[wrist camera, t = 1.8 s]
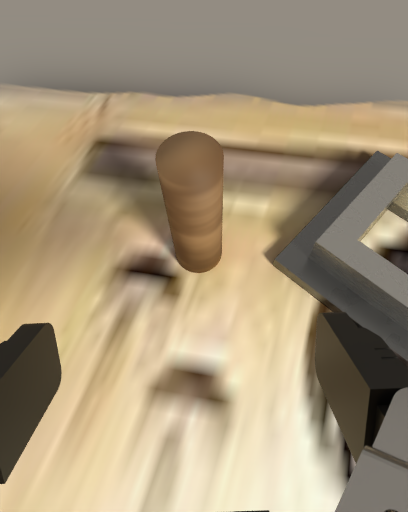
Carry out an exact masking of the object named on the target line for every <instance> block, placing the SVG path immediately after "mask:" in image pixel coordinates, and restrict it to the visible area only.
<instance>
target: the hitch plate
mask: <svg viewBox="0 0 408 512" xmlns="http://www.w3.org/2000/svg"><path fill="white" fill-rule="evenodd" d="M387 209H389V210H390V211H392V212H393V213H395V214H396V215H398V216H400V217H401V218H403V219H404V220H406V221H408V159H407V158H405V157H403V156H402V155H400V154H398V153H396V154H395V156H394V157H393V158H392V159H391V158H389V157H387V156H386V155H384V154H382V153H380V152H379V151H376V152H375V153H374V155H373V156H372V157H371V158H370V159H369V160H368V161H367V162H366V163H365V164H364V165H363V166H362V167H361V168H360V169H359V170H358V171H357V173H356V174H355V175H354V176H353V177H352V178H351V179H350V180H349V181H348V182H347V183H346V184H345V185H344V186H343V187H342V188H341V190H340V191H339V192H338V193H337V194H336V195H335V196H334V197H333V198H332V199H331V200H330V201H329V202H328V203H327V204H326V205H325V206H324V208H323V209H322V210H321V211H320V212H319V213H318V214H317V215H316V216H315V217H314V218H313V219H312V220H311V221H310V222H309V223H308V224H307V226H306V227H305V228H304V229H303V230H302V231H301V232H300V233H299V234H298V235H297V236H296V237H295V238H294V239H293V240H292V241H291V242H290V244H289V245H288V246H287V247H286V248H285V249H284V250H283V251H282V252H281V253H280V254H279V255H278V256H277V257H276V258H275V260H274V263H273V265H274V266H275V267H276V268H277V269H279V270H280V271H281V272H283V273H284V274H285V275H286V276H288V277H289V278H290V279H292V280H293V281H294V282H296V283H297V284H298V285H299V286H301V287H302V288H303V289H305V290H306V291H307V292H308V293H310V294H311V295H312V296H314V297H315V298H316V299H317V300H319V301H320V302H321V303H323V304H324V305H325V306H327V307H328V308H329V309H330V310H332V311H333V312H346V313H347V314H348V315H349V317H350V318H351V319H352V321H353V322H354V323H355V325H356V326H357V327H358V328H367V329H368V330H370V331H372V332H373V333H375V334H377V335H378V336H380V337H381V338H382V339H383V340H384V341H385V343H386V344H387V345H388V346H389V347H390V350H392V351H393V352H394V353H395V354H396V356H397V358H398V359H400V360H401V362H402V363H403V364H404V365H405V366H406V367H407V369H408V274H406V273H405V272H404V271H402V270H401V269H399V268H398V267H396V266H395V265H393V264H392V263H390V262H389V261H387V260H386V259H384V258H383V257H382V256H380V255H379V254H377V253H376V252H374V251H373V250H371V249H370V248H368V247H367V246H365V245H364V244H363V243H361V242H360V241H361V240H362V239H363V237H364V236H365V235H366V234H367V233H368V232H369V230H370V229H371V228H372V227H373V226H374V225H375V223H376V222H377V221H378V220H379V219H380V218H381V216H382V215H383V214H384V213H385V212H386V211H387Z"/></svg>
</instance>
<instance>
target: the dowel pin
mask: <svg viewBox="0 0 408 512" xmlns="http://www.w3.org/2000/svg"><path fill="white" fill-rule="evenodd" d="M155 159H156V166H157V170H158V175H159V179H160V184H161V189H162V193H163V198H164V202H165V207H166V211H167V216H168V221H169V225H170V230H171V234H172V239H173V243H174V248H175V253H176V257H177V260H178V262H179V264H180V265H181V266H182V267H183V268H184V269H186V270H188V271H190V272H195V273H202V272H206V271H209V270H211V269H212V268H214V267H215V266H216V265H217V264H218V262H219V261H220V258H221V254H222V210H223V160H224V155H223V150H222V148H221V146H220V144H219V143H218V142H217V141H216V140H215V139H214V138H213V137H211V136H209V135H207V134H205V133H201V132H195V131H187V132H181V133H177V134H175V135H172V136H171V137H169V138H167V139H166V140H165V141H164V142H163V143H162V144H161V145H160V146H159V148H158V150H157V153H156V158H155Z"/></svg>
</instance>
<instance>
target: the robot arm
mask: <svg viewBox="0 0 408 512" xmlns="http://www.w3.org/2000/svg"><path fill="white" fill-rule="evenodd" d="M315 368H316V374H317V378H318V380H319V383H320V385H321V387H322V389H323V392H324V394H325V396H326V398H327V400H328V403H329V405H330V407H331V409H332V411H333V414H334V416H335V418H336V420H337V422H338V425H339V427H340V429H341V431H342V434H343V436H344V438H345V440H346V442H347V445H348V447H349V449H350V451H351V453H352V456H353V458H354V460H355V462H356V466H355V468H354V470H353V473H352V475H351V477H350V479H349V481H348V484H347V486H346V488H345V490H344V493H343V495H342V497H341V499H340V502H339V504H338V506H337V508H336V510H335V512H408V369H407V367H406V366H405V365H404V364H403V363H402V362H401V360H400V359H398V358H397V356H396V354H395V353H394V352H393V351H392V350H390V347H389V346H388V345H387V344H386V343H385V341H384V340H383V339H382V338H381V337H380V336H378V335H377V334H375V333H373V332H372V331H370V330H368V329H367V328H358V327H357V326H356V325H355V323H354V322H353V321H352V319H351V318H350V317H349V315H348V314H347V313H346V312H332V313H319V315H318V318H317V331H316V349H315ZM60 381H61V364H60V359H59V354H58V349H57V343H56V338H55V333H54V329H53V326H52V325H51V324H50V323H35V324H23V325H22V326H21V327H20V328H19V329H18V330H17V331H16V332H15V333H14V334H13V335H12V336H11V337H10V338H9V339H8V340H7V341H4V342H2V343H1V344H0V484H5V482H6V481H7V479H8V477H9V475H10V474H11V472H12V470H13V468H14V466H15V465H16V463H17V461H18V459H19V458H20V456H21V454H22V452H23V451H24V449H25V447H26V445H27V443H28V442H29V440H30V438H31V436H32V435H33V433H34V431H35V429H36V427H37V426H38V424H39V422H40V420H41V419H42V417H43V415H44V413H45V411H46V410H47V408H48V406H49V404H50V403H51V401H52V399H53V397H54V395H55V394H56V392H57V390H58V388H59V385H60ZM236 512H269V510H268V511H236Z"/></svg>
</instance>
